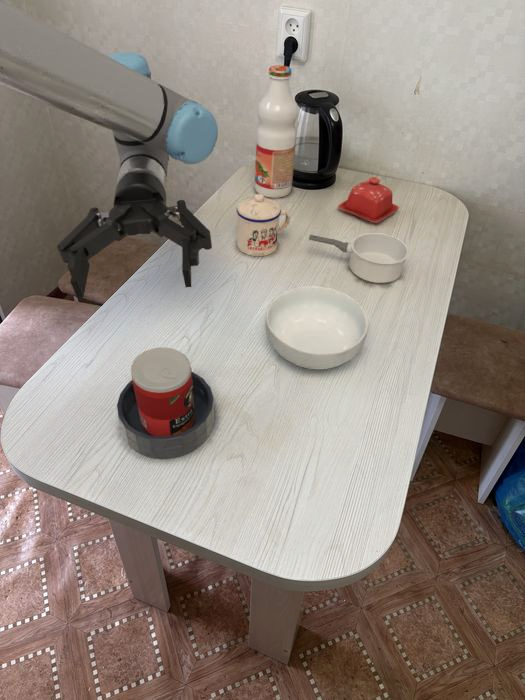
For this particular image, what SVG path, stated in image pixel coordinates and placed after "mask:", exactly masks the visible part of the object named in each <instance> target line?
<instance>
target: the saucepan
mask: <svg viewBox="0 0 525 700" xmlns="http://www.w3.org/2000/svg"><path fill="white" fill-rule="evenodd" d="M308 241H312V242H318V243H322V244H327V245H331V246H334V247H336V248H337V249H338V250H340V251H341V252H342V253H349V254H350V258H349V264H348V265H349V269H350V270H351V272H352V273H353V274H354V275H355V276H357V277H358V278H360V279H362V280H364V281H366V282H370V283H375V284H385V283H390V282H394V281H396V280H398V279H399V278H400V277H401V275H402V273H403V269H404V266H405V262H406V259H407V258H408V257H409V256H410V249H409V247H408V246H407V244H406V243H405V242H404V241H403V240H401V239H399V238H398V237H396V236H393V235H391V234H387V233H383V232H366V233H362V234H361V233H360V234H358V235H356V236H355V237H353V239H352V240H351V242H345V241H344V242H343V241H341V240H338V239H335V238H329V237H324V236H319V235H314V234H309V237H308Z"/></svg>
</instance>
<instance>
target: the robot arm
mask: <svg viewBox="0 0 525 700" xmlns="http://www.w3.org/2000/svg"><path fill="white" fill-rule="evenodd" d="M0 87H2V88H5V89H8V90H10V91H13V92H15V93H18V94H20V95H22V96H25V97H28V98H30V99H33V100H35V101H37V102H40V103H43V104H46V105H48V106H50V107H53V108H55V109H58V110H60V111H63V112H65V113H68V114H71V115H73V116H75V117H77V118H80V119H83V120H86V121H87V122H88V121H89V122H90V123H93V124H95V125H98V126H100V127H102V128H105V129H108V130H110V131H112V136H113V138H114V143H115V146H116V150H117V153H118V157H119V169H118V175H117V180H116V186H115V191H114V198H113V206H112V208H111V209H110V210H109V212H108V211H106V212H105V211H104V212H103V211H102V212H100V210H99V208H98V207H92V208H90V209H89V210H88V213H87V216H86V217H85V218H84V219H83V220H82V221H81V222H80V223H78V224H77V226H76V227H75V228H74V229H72V231H70V232H69V233H68V234H67V235H66V236H65V237H64V238H63V239H62V240H61V241H60V242H59V243H58V244H57V245H56V248H57V251H58V253H59V256H60V258H61V260H62V262H63V263H65V264H67V269H68V271H69V275H70V276H71V277H70V284H71V287H72V289H73V292H74V294H75V296H76V298H77V299H82V298H84V296H85V293H86V286H87V281H88V276H89V270H90V266H91V265H90V262H89V260H91V259H92V258H93V257H94V256H97V254H98V253H100V252H101V251H103V250H104V249H106V248H107V247H108V246H110V245H112V244H113V243H114V242H115V241H116V242H121V241H122V240H123V239H125V238H126V237H127V236H128V237H130V236H137V235H150V234H151V233H154V234H156V235H157V236H159V237H160V238H163V237H164V238H166V239H168V240H169V241H171V242H172V243H174V244H176V245H177V246H179V247H180V248H181V250H182V251H181V272H182V277H183V282H184V286H185V288H192V267H197V266H199V264H200V251H201V250H206V251H210V250H211V249H212V248H213V243H212V235H211V231H210V230H209V228H208V227H206V226H205V225H204V223H202V222H201V221H200V220H199V218H197V217H196V216H195V215H194V213H193V212H191V210H190V209H188V207H187V204H186V201H185V199H179V200H177V201H176V205H173V206H168V205H167V194H168V193H167V192H168V168H169V167H168V166H169V161H170V158H172V159H173V160H175V161H179V162H181V163H183V164H186V165H196V164H199V163H202V162H204V161H205V160H206V159H207V158H208V157H210V155H212V153H213V151H214V148H215V147H216V144H217V142H218V138H219V130H218V129H219V128H218V123H217V120H216V118H215V116H214V115H213V113H212V112H211V111H210V110H209V109H207V108H206V107H204V106H203V105H202V104H201V103H200V102H197V101H195V100H191V99H189V98H187V97H185V96H184V95H181V94H180V93H178V92H176V91H174V90H172V89H170V88H168V87H166V86H165V85H163V84H160V83H158V82H157V81H155V80H153V79H152V72H151V70H150V67H149V63H148V61H147V59H146V57H145V56H143V55H142V54H140V53H137V52H131V51H130V52H129V51H128V52H126V51H125V52H118V53H113V54H110V55H106V54H105V53H102V52H101V51H98V50H97V49H95V48H93V47H91V46H89V45H88V44H86V43H84V42H81V41H80V40H78V39H76V38H75V37H73V36H70V35H69V34H67V33H65V32H63V31H61V30H59V29H58V28H55V27H54V26H52V25H50V24H48V23H46V22H44V21H43V20H40V19H39V18H37V17H36V16H33V15H32V14H29V13H28V12H26V11H24V10H22V9H20V8H18V7H17V6H15V5H13V4H11V3H8V2H7V1H6V0H5V1H4V0H0ZM170 217H172V218H174V220H176V221H174V220H172V219H170ZM179 223H180V224H181V225H180V224H179Z"/></svg>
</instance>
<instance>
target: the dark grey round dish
mask: <svg viewBox="0 0 525 700" xmlns="http://www.w3.org/2000/svg"><path fill="white" fill-rule="evenodd" d="M192 382H193V396H194V410H195V419H194V422H193V425H192V427H191V428H190V429H188V430H186V431H184V432H182V433H180V434H175V435H170V436H151V435H150V434H149V433H147V431H146V430H145V429H144V427H143V426H142V424H141V420H140V415H139V411H138V406H137V401H136V396H135V391H134V386H133V381H132V380H130V381H129V382H128V383H127V384H126V385H125V386H124V388H123V389H122V391H121V392H120V393H119V396H118V400H117V403H116V410H117V417H118V422H119V425H120V430H121V434H122V436H123V437H124V440H125V442H126V444H127V445H128V446H129V447H130V448H131V449H132V450H134V451H135V452H136V453H137V454H139V455H142V456H144V457H146V458H150V459H155V460H171V459H177V458H181V457H184V456H187V455H189V454H191V453H192V452H194V451H196V450H197V449H199V448H200V447H201V446H202V445H203V444H204V443H205V442H206V441H207V439H208V438H209V436H210V435H211V433H212V430H213V428H214V424H215V423H214V422H215V421H214V420H215V403H214V394H213V392H212V388H211V386H210V385H209V384H208V383H207V381H206V380H205V379H204V378H203V377H202V376H200V375H199V374H197V373H195V372H194V371H192Z"/></svg>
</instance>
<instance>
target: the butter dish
mask: <svg viewBox="0 0 525 700" xmlns="http://www.w3.org/2000/svg"><path fill="white" fill-rule="evenodd" d="M380 181H381V180H380V179H379V178H378V177H374V176H371V177H369V178H368V180H366V181H361V182H360V183H358V184H356V185H355V186H353V187H352V189H351V190H350V192H349V194H348V197H347V199H346V200H343V202H341V203H339V204H338V206H337V208H338V209H339V210H341V211H344V212H346V213H349V214H351V215H354V216H356V217H359V218H360V219H363V220H365V221H368V222H370V223H374V224H377V223H380V222H381V221H384V219H386V218H388V217H389V216H390V215H392V214H394V213H395V212H397V211H398V210H399V209H400V207H399V205H397V204H394V203H393V191H392V190H391V189H390V188H389V187H387V186H386V185H383V184H382V183H380Z"/></svg>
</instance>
